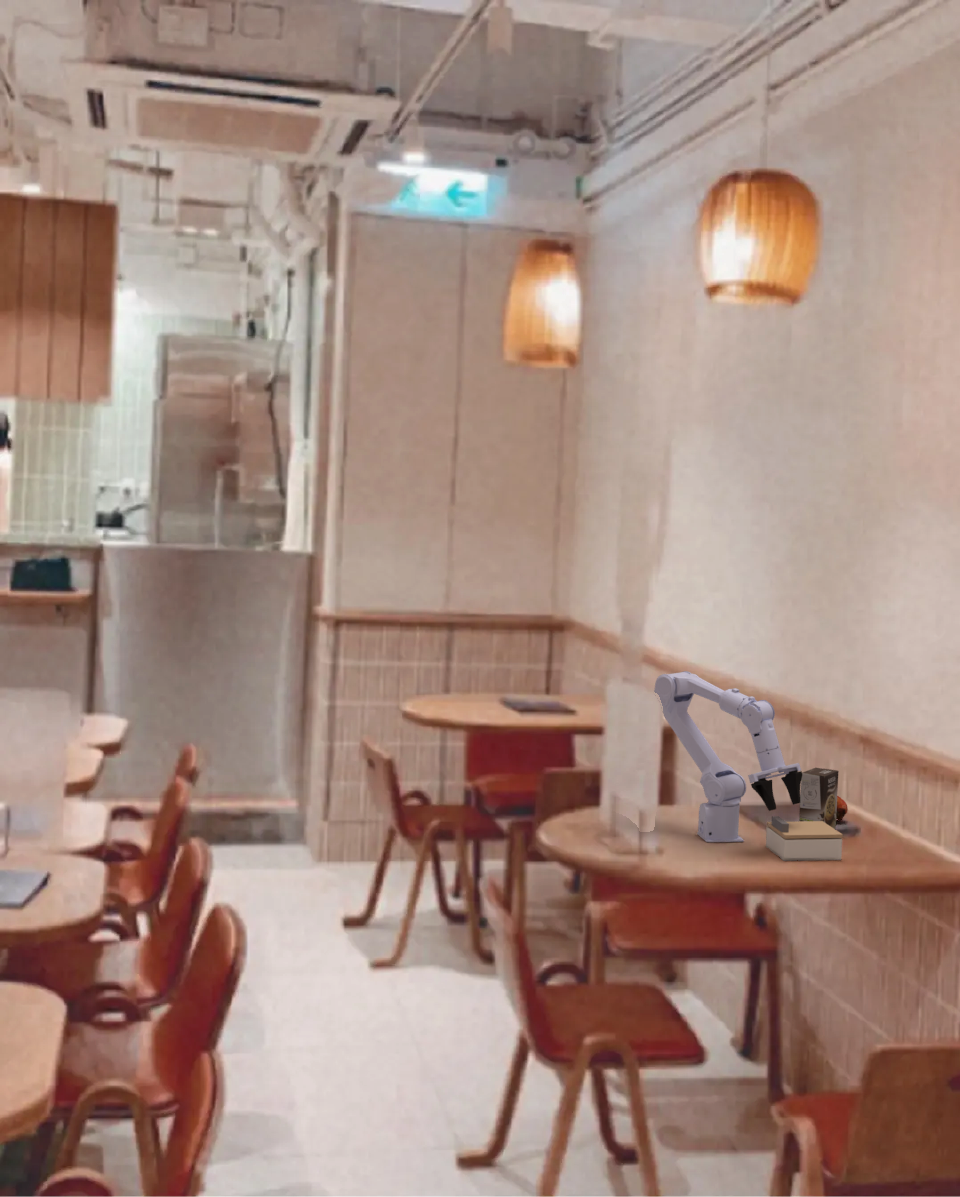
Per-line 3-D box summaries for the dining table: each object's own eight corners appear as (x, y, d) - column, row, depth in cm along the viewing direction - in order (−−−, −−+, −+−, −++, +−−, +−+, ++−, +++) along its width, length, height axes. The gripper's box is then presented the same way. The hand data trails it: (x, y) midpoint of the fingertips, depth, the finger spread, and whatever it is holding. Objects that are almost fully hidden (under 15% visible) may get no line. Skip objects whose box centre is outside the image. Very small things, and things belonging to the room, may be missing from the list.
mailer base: (783, 860, 318) (784, 839, 317) (765, 846, 330) (766, 826, 329) (841, 859, 320) (842, 838, 319) (821, 845, 332) (822, 825, 331)
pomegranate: (849, 833, 353) (844, 802, 360) (850, 815, 348) (845, 784, 355) (820, 834, 354) (815, 803, 361) (820, 816, 349) (816, 786, 356)
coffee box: (821, 840, 336) (824, 776, 335) (797, 835, 340) (800, 772, 339) (836, 833, 344) (839, 770, 342) (812, 828, 347) (815, 766, 346)
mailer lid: (784, 838, 317) (785, 826, 317) (766, 825, 329) (767, 813, 329) (842, 837, 319) (843, 825, 319) (822, 824, 331) (822, 812, 331)
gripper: (755, 752, 318) (772, 810, 316) (802, 742, 325) (818, 798, 323) (737, 758, 324) (753, 814, 322) (783, 748, 331) (799, 803, 329)
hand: (784, 806), depth 323 cm, fingers open, 7 cm apart
